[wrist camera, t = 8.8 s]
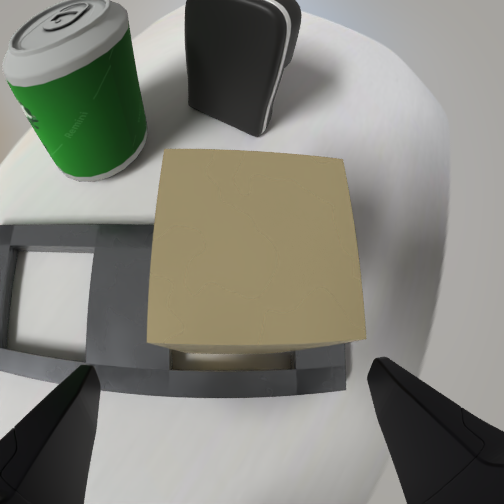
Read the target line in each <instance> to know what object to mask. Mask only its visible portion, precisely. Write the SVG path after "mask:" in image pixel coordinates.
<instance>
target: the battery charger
mask: <svg viewBox="0 0 504 504" xmlns="http://www.w3.org/2000/svg"><path fill="white" fill-rule="evenodd" d="M300 24H301V10H300V6H299V5H298V3H297V2H296V1H295V0H187V1H186V6H185V51H186V64H187V74H188V104H189V106H191V107H193V108H195V109H197V110H199V111H201V112H203V113H205V114H207V115H209V116H211V117H214V118H216V119H218V120H220V121H222V122H224V123H226V124H228V125H231V126H233V127H235V128H237V129H239V130H241V131H244V132H246V133H248V134H250V135H252V136H255V137H257V136H259V135H260V134H262V133H263V132H264V131H265V129H266V126H267V125H268V124H269V121H270V118H271V114H272V106H273V101H274V97H275V94H276V91H277V89H278V86H279V83H280V80H281V77H282V73H283V70H284V68H285V67H286V66H287V65H288V64H289V63H290V61H291V59H292V56H293V52H294V49H295V45H296V41H297V37H298V33H299V29H300Z"/></svg>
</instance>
